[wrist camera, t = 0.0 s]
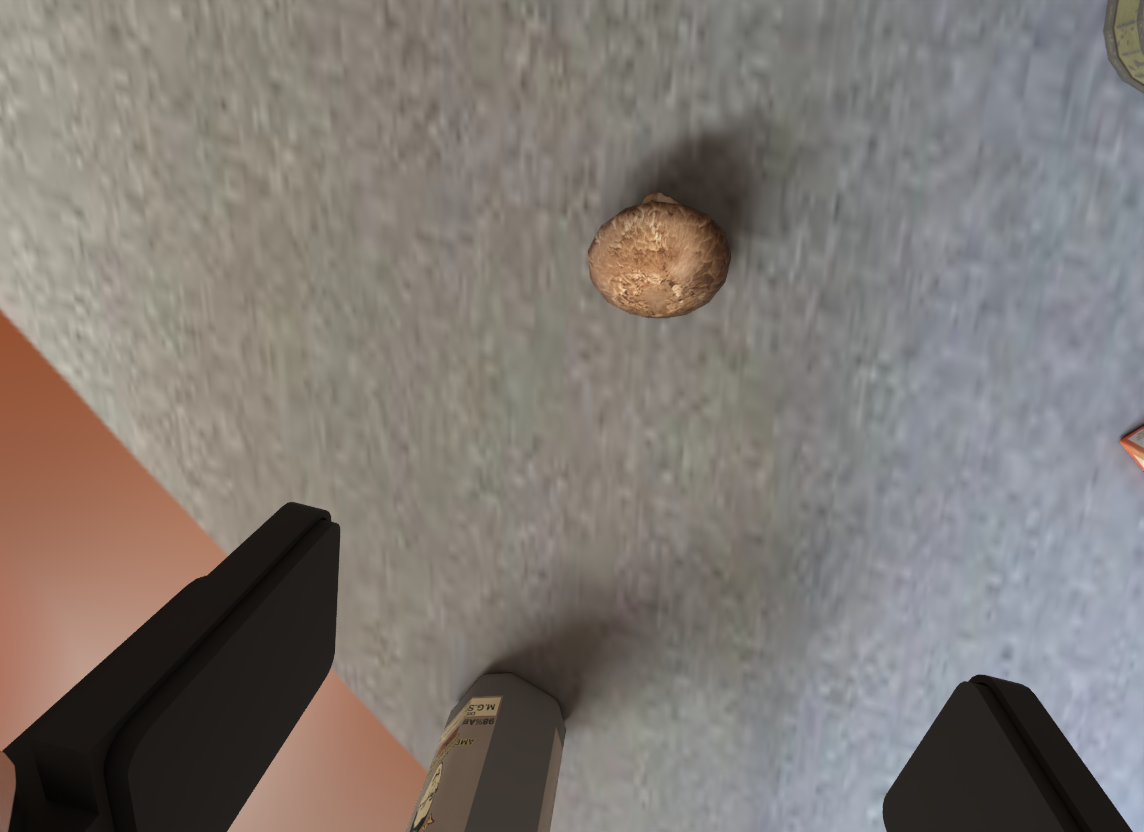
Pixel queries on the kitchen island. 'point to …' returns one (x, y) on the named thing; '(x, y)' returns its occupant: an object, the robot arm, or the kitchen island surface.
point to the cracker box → (1135, 446)
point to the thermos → (1126, 40)
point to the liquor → (494, 762)
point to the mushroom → (659, 258)
